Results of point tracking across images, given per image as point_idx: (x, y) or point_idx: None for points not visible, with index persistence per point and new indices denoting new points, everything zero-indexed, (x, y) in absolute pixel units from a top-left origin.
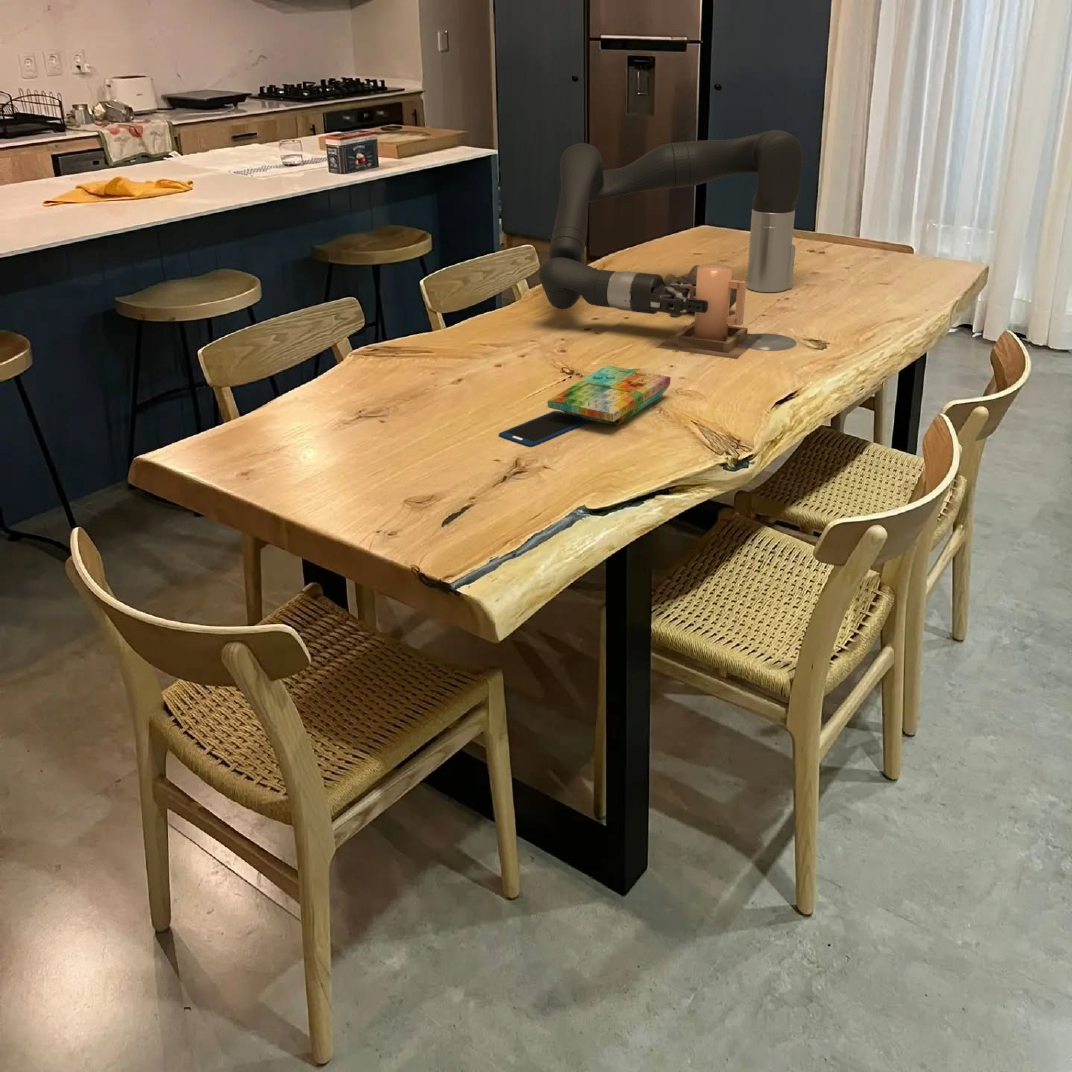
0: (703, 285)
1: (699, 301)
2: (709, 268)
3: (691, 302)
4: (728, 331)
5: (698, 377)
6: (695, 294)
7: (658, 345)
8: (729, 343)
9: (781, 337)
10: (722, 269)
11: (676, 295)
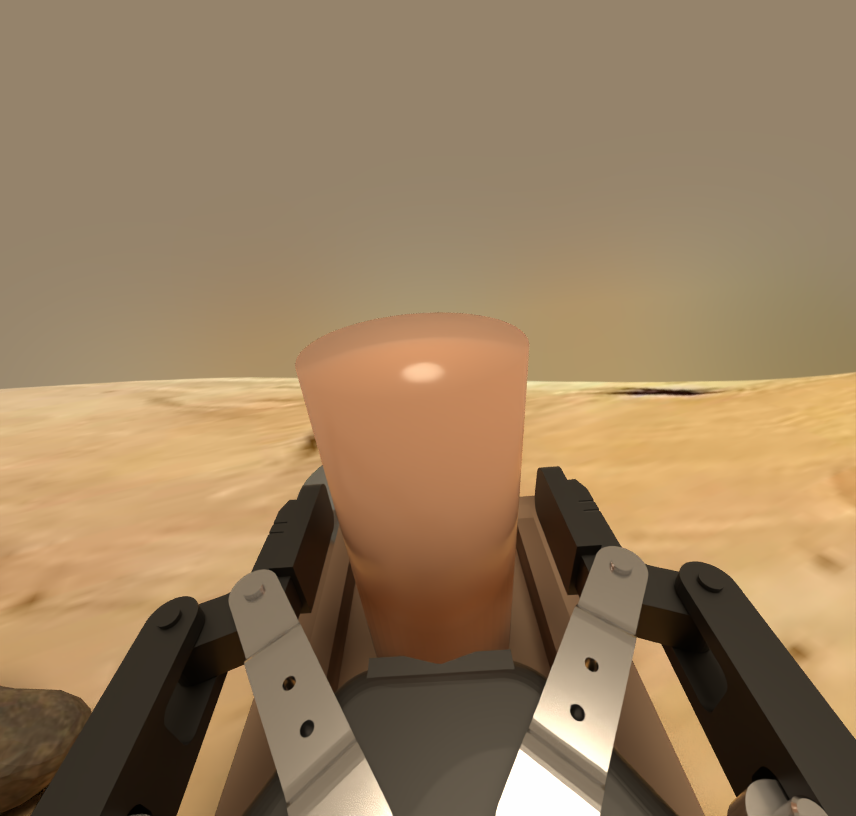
0: (523, 430)
1: (569, 492)
2: (436, 351)
3: (602, 528)
4: (351, 578)
5: (758, 528)
6: (209, 702)
7: None
8: (522, 505)
9: (325, 477)
10: (424, 325)
11: (634, 633)
